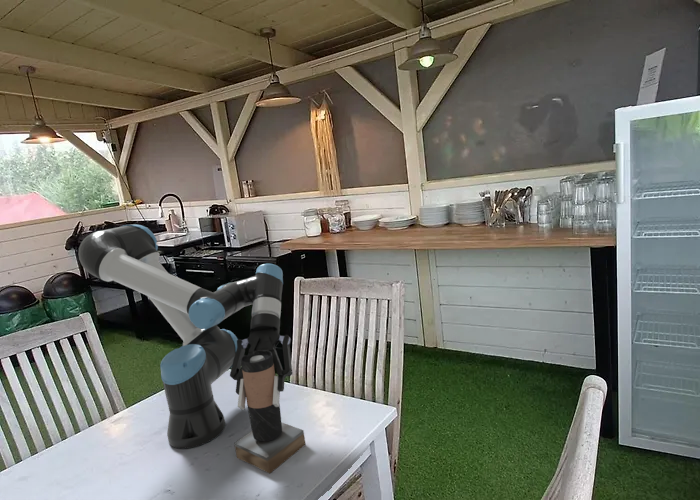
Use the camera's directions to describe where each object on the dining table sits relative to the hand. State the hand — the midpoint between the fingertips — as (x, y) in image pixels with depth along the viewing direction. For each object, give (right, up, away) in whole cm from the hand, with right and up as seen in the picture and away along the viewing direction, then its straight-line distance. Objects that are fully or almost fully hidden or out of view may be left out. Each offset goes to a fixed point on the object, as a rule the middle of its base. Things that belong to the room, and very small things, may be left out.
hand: (258, 406), depth 104 cm
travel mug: (+1, -9, +5) cm, 10 cm away
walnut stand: (+2, -13, +6) cm, 14 cm away
